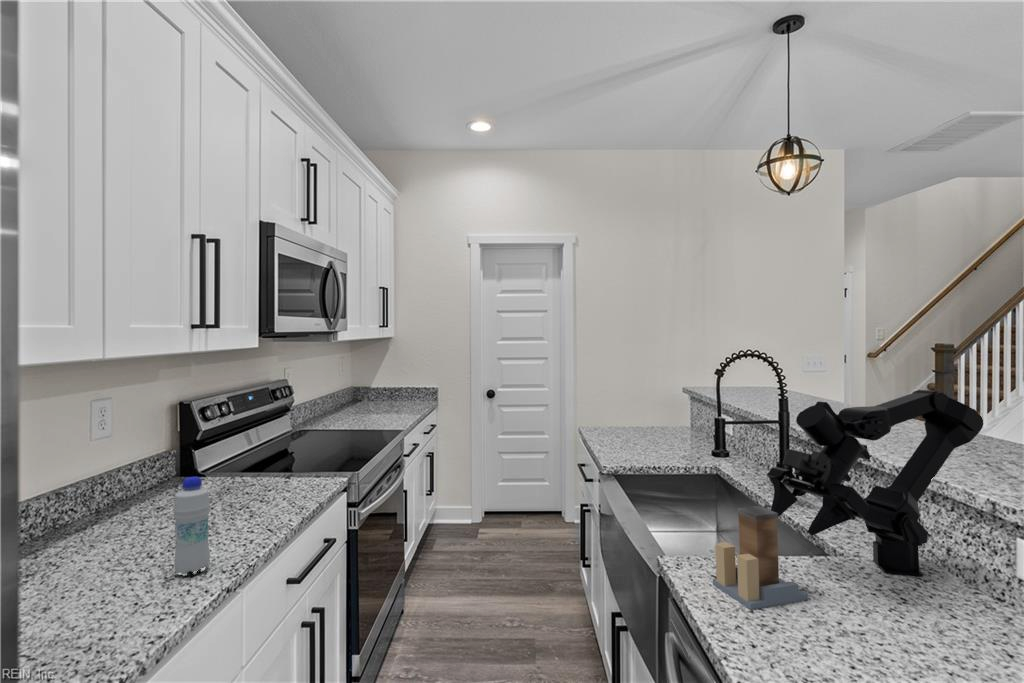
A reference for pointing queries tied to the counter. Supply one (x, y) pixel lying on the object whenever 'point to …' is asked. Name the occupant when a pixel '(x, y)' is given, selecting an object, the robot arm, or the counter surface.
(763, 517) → the rail end
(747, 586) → the base with wooden posts
